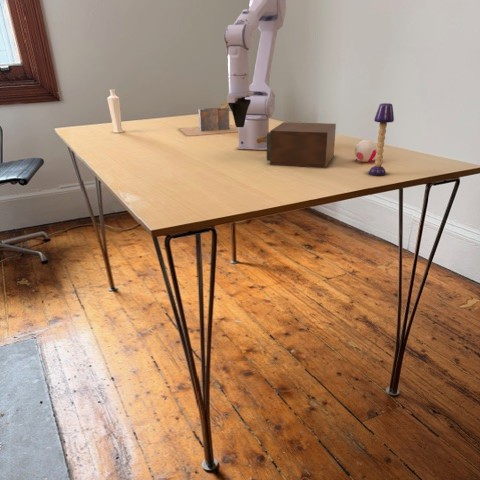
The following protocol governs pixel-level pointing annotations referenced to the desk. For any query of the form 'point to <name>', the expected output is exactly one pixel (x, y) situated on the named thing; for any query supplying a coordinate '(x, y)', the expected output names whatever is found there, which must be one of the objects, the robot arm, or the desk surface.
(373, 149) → the stress ball
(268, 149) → the drawer
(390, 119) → the toy lamp
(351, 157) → the desk surface
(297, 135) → the cabinet
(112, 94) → the perfume bottle
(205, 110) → the architectural model on board
